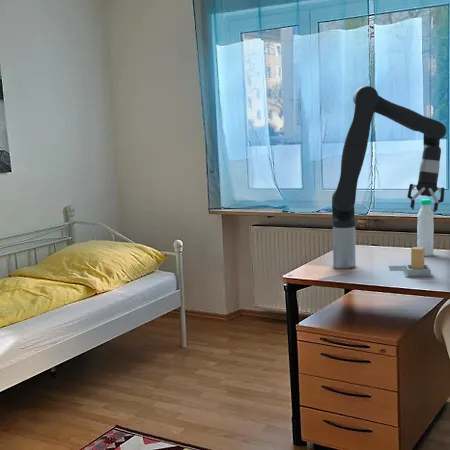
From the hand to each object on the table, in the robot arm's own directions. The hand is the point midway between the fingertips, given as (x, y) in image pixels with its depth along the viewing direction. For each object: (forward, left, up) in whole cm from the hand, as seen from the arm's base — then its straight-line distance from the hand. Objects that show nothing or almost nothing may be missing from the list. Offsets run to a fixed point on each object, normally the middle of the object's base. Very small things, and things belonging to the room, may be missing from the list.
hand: (423, 210), depth 265 cm
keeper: (-4, -17, -23) cm, 29 cm away
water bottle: (+4, +23, -23) cm, 33 cm away
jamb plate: (-8, -6, -23) cm, 25 cm away
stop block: (-4, -17, -22) cm, 28 cm away
